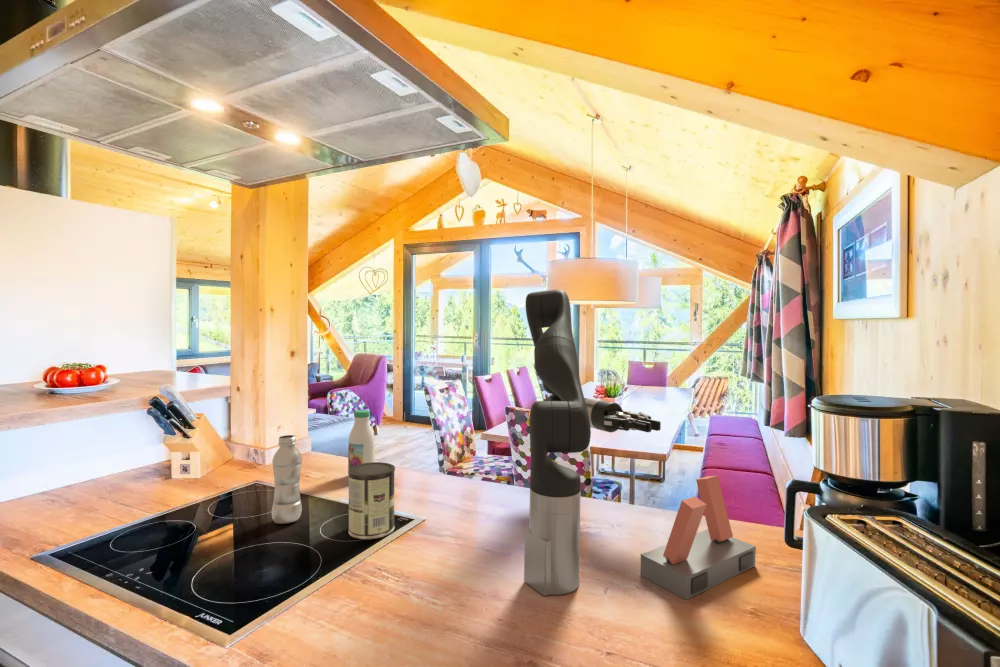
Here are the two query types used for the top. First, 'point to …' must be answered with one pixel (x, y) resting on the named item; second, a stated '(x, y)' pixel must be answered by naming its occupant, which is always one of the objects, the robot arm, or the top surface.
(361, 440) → the milk bottle
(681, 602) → the top surface
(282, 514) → the plastic bottle
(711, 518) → the block
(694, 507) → the rocker near
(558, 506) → the robot arm
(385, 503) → the coffee can
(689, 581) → the grey switch base
